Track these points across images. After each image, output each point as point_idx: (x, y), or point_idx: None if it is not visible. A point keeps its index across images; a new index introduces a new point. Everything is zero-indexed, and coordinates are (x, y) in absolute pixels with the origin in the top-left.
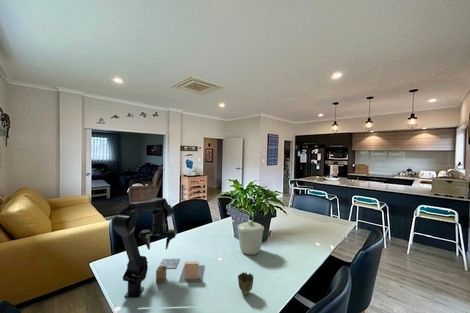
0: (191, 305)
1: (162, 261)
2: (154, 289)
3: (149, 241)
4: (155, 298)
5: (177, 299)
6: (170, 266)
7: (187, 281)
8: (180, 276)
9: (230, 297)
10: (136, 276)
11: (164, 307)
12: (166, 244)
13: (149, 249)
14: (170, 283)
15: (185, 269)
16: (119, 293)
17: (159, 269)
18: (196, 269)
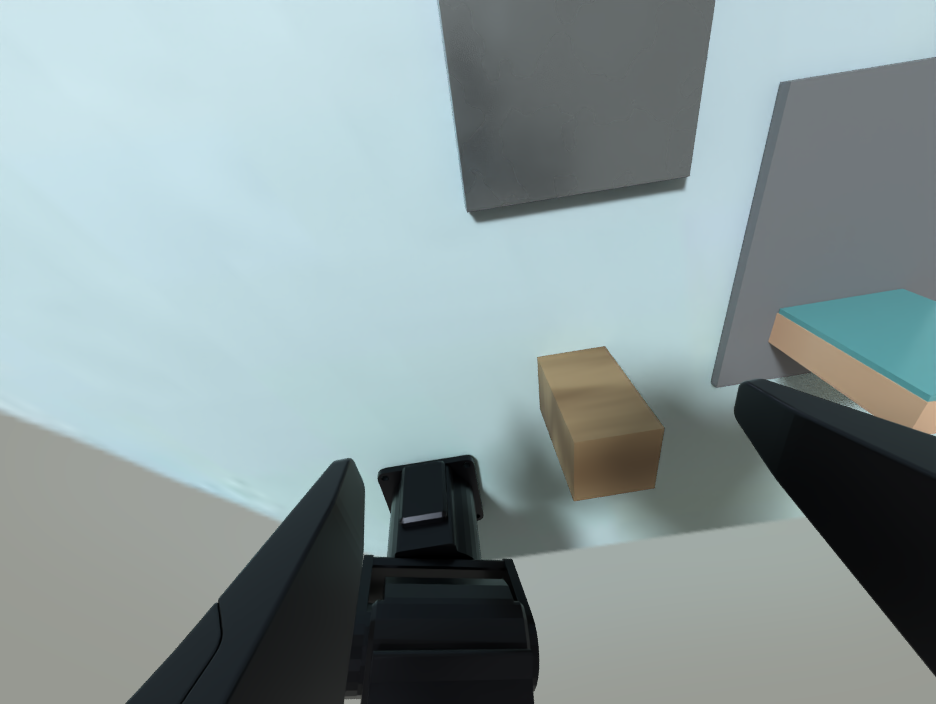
0: (779, 508)
1: (455, 5)
2: (549, 450)
3: (273, 672)
4: (582, 502)
5: (708, 490)
6: (615, 153)
7: (789, 363)
8: (734, 311)
9: None
10: (435, 577)
11: (645, 535)
12: (872, 582)
13: (360, 477)
14: (648, 384)
15: (852, 392)
16: None
17: (601, 484)
18: None
